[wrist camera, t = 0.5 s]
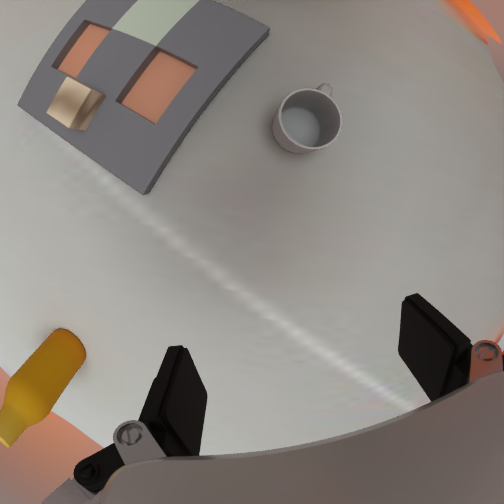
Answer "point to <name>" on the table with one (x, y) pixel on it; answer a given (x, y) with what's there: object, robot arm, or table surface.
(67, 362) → the beer bottle
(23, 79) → the table surface
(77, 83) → the beech block
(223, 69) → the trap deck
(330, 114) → the cup
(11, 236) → the table surface
